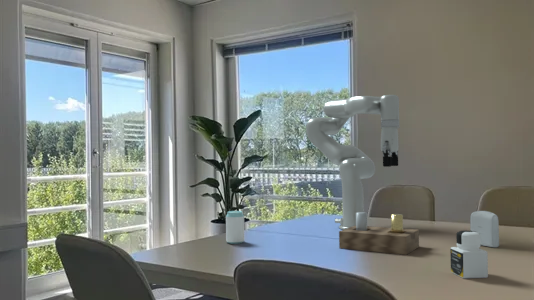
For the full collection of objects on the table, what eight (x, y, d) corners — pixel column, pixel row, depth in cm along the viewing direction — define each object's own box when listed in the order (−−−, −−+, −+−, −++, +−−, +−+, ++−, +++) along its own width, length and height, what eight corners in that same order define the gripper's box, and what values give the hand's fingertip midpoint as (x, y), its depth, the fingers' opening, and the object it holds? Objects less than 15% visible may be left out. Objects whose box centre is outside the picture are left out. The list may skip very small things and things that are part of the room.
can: (247, 241, 186) (247, 210, 186) (239, 244, 179) (238, 212, 180) (231, 240, 189) (231, 210, 189) (222, 243, 182) (222, 212, 183)
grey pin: (354, 240, 173) (354, 213, 173) (358, 238, 176) (358, 212, 177) (365, 241, 171) (364, 213, 171) (369, 239, 174) (368, 212, 174)
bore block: (339, 248, 170) (339, 231, 170) (355, 240, 183) (355, 225, 183) (406, 254, 157) (406, 236, 157) (419, 246, 171) (418, 229, 171)
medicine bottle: (450, 272, 134) (449, 229, 134) (474, 271, 134) (473, 228, 134) (462, 278, 126) (462, 233, 127) (488, 277, 127) (487, 233, 127)
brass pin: (390, 243, 166) (389, 215, 166) (393, 241, 170) (392, 213, 170) (401, 244, 164) (400, 215, 164) (404, 242, 168) (404, 214, 168)
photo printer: (468, 243, 175) (468, 210, 175) (476, 242, 177) (476, 209, 177) (492, 248, 166) (492, 212, 166) (501, 247, 168) (500, 212, 168)
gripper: (387, 126, 206) (388, 165, 206) (374, 124, 191) (375, 166, 191) (405, 125, 202) (405, 165, 202) (392, 123, 187) (393, 166, 187)
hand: (390, 166), depth 196 cm, fingers open, 9 cm apart
